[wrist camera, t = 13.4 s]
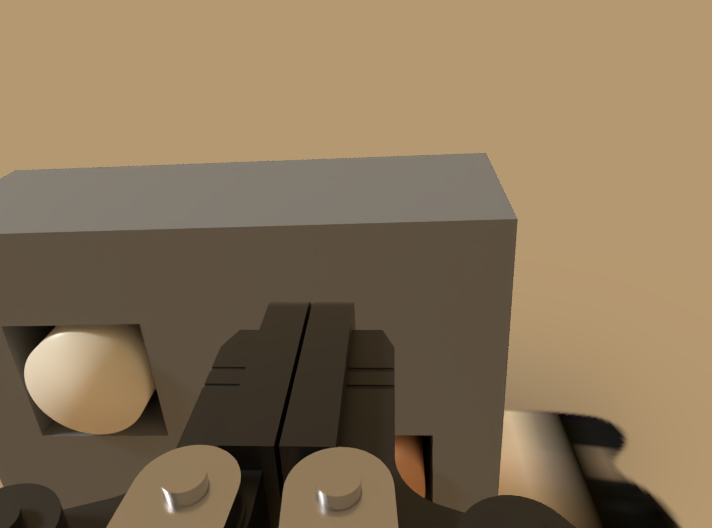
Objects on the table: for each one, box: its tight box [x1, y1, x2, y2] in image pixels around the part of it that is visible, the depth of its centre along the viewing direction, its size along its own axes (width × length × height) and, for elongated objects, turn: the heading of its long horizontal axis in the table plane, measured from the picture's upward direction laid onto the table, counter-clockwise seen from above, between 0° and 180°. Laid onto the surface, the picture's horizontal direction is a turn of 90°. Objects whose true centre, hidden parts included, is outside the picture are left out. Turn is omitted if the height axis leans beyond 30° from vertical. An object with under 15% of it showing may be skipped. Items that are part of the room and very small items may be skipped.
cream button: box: [24, 324, 156, 434], centre depth 24 cm, size 6×4×4 cm
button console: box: [0, 153, 517, 513], centre depth 27 cm, size 7×20×22 cm, turn 87°
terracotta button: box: [395, 435, 425, 498], centre depth 26 cm, size 6×4×4 cm
